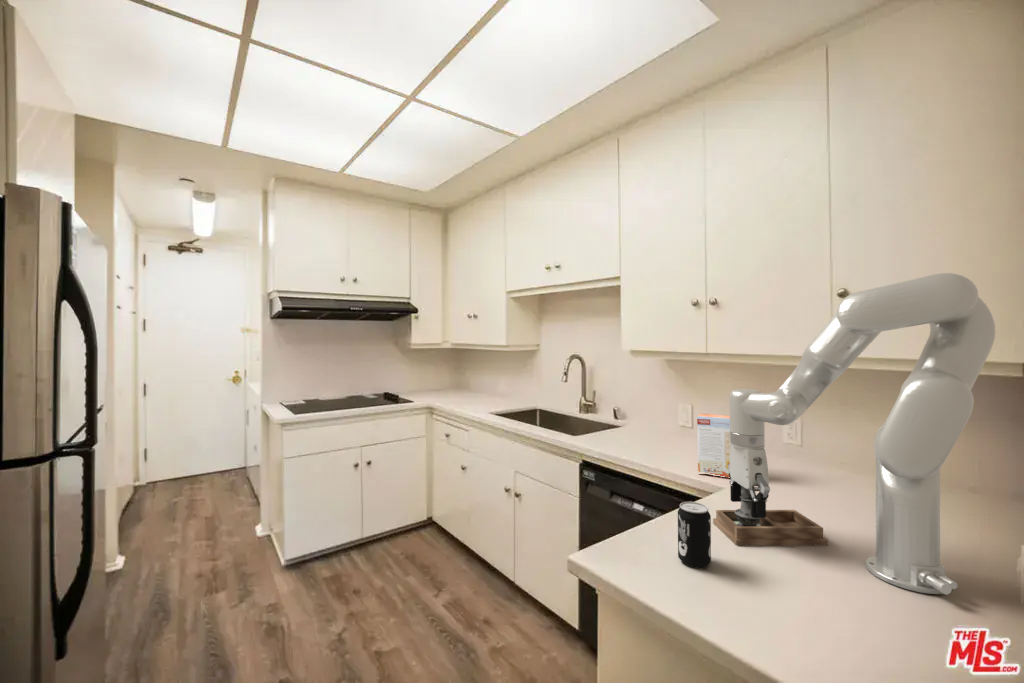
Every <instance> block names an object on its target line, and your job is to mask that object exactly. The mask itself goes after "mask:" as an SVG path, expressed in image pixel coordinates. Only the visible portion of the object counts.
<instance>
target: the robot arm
mask: <svg viewBox="0 0 1024 683" xmlns="http://www.w3.org/2000/svg"><path fill="white" fill-rule="evenodd" d="M927 324H929V327H930V330H929V335H928V338H927V340H926V343H925V344H924V346H923V348H922V352H921V353H920V356H919V357H918V359H917V362H916V363H915V365H914V367H913V369H912V370H911V372H910V374H909V375H908V377H907V378H906V379H905V380H904V382H903V383H902V385H901V387H900V391H899V394H898V397H897V398H896V400H895V402H894V404H893V406H892V409H891V410H890V412H889V413H888V414H889V415H888V416H887V418H886V420H885V422H884V423H883V424H882V425H880V427H879V428H878V429H877V431H876V433H875V436H874V442H873V443H874V444H873V450H874V455H875V555H871V556H869V557H868V558H866V561H865V564H866V568H867V570H868V571H869V572H870V573H871V574H873V575H874V576H876V577H877V578H879V579H880V580H882V581H884V582H886V583H888V584H891V585H894V586H896V587H899V588H901V589H905V590H908V591H912V592H916V593H920V594H928V595H947V596H948V595H950V594H951V593H952V590H956V589H957V588H958V582H956V581H954V580H953V579H950V578H949V577H948V576H947V575H946V566H944V565H942V564H941V467H942V466H943V465H944V463H945V462H946V460H947V458H948V457H949V455H950V454H951V451H952V450H953V449H954V447H955V445H956V443H957V441H958V440H959V437H960V436H961V434H962V432H963V430H964V428H965V427H966V425H967V424H968V421H969V419H970V417H971V415H972V412H973V409H974V406H975V404H974V403H975V399H974V395H973V392H972V389H973V387H974V385H975V382H976V381H977V379H978V377H979V375H980V373H981V371H982V370H983V367H984V365H985V363H986V361H987V358H989V355H990V353H991V351H992V348H993V345H994V341H995V338H996V324H995V320H994V316H993V314H992V312H991V310H990V308H989V307H988V306H987V304H986V303H985V302H984V301H983V299H982V298H981V297H980V296H979V290H978V288H977V286H976V284H975V283H974V282H973V281H972V280H971V279H970V278H967V276H964V275H961V274H957V273H953V272H952V273H951V272H950V273H949V272H943V273H935V274H930V275H927V276H921V277H917V278H913V279H908V280H904V281H901V282H896V283H892V284H888V285H884V286H879V287H874V288H869V289H865V290H864V289H863V290H859V291H857V292H852V293H850V294H848V295H847V296H845V297H844V298H843V299H842V300H841V301H840V302H839V304H838V306H837V309H836V312H835V314H834V315H833V316H832V317H831V318H830V320H829V321H828V322H827V323H826V325H825V326H824V327H823V328H822V329H821V330H820V331H819V332H818V334H817V335H816V336H815V337H814V338H813V339H812V340H811V342H809V344H808V345H807V346H806V348H805V349H804V350H803V352H802V355H801V358H800V361H799V363H798V364H797V366H796V368H794V370H793V371H792V373H791V374H790V375H789V376H788V377H787V378H786V380H785V381H784V382H783V383H782V385H780V387H779V388H778V389H777V390H776V391H773V392H762V391H761V390H758V389H751V388H737V389H733V390H730V393H729V416H730V445H731V449H730V464H729V465H728V470H729V477H730V479H729V485H730V501H731V502H734V503H738V502H739V503H741V499H740V496H741V486H743V487H744V488H746V489H748V490H750V493H751V496H752V499H753V500H751V517H753V518H765V517H766V510H767V502H768V498H769V496H770V495H769V493H770V492H771V487H770V482H769V479H770V478H769V467H768V466H769V465H768V457H767V452H766V449H765V447H766V446H765V445H766V444H765V441H766V440H765V438H766V437H765V423H768V424H773V425H777V426H786V425H791V424H793V423H794V422H796V420H798V419H799V418H800V417H802V415H804V413H805V412H806V411H807V410H808V409H809V408H810V407H811V406H812V405H813V403H815V401H816V400H818V398H819V397H820V396H821V395H822V394H823V393H824V392H825V391H826V389H827V388H828V387H829V386H830V385H831V384H832V383H834V382H835V381H836V380H838V378H840V376H842V375H843V373H845V371H846V370H848V368H849V367H850V366H851V365H852V364H853V363H854V362H855V361H856V360H857V358H858V357H859V356H860V355H861V354H862V353H863V352H864V351H865V349H867V347H869V345H870V344H871V343H872V342H873V341H874V340H875V339H876V338H877V337H878V336H879V335H880V334H881V332H884V331H885V332H886V331H891V330H898V329H903V328H910V327H914V326H915V327H917V326H920V325H927ZM752 486H754V487H752ZM756 492H758V493H757V494H756Z"/></svg>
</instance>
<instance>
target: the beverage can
mask: <svg viewBox="0 0 1024 683" xmlns="http://www.w3.org/2000/svg"><path fill="white" fill-rule="evenodd" d="M711 517H712V516H711V514H710V512H709V507H708V506H707V505H706V504H703V503H700V502H696V501H682V502H681V503H680V504H679V508H678V510H677V556H678V559H679V560H680V561H681V563H682V564H684V565H685V566H688V567H691V568H694V569H705V568H707V567H708V566H709V565H710V564H711V563H712V534H711V533H712V532H711V531H712V530H711V529H712V526H711V524H712V518H711Z"/></svg>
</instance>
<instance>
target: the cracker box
mask: <svg viewBox="0 0 1024 683" xmlns="http://www.w3.org/2000/svg"><path fill="white" fill-rule="evenodd" d="M696 421H697V422H696V426H697V427H696V430H697V434H696V435H697V436H696V437H697V439H696V440H697V445H696V446H697V472H698V471H699V472H705V473H710V474H715V475H720V476H725V477H729V470H728V465H729V464H730V449H731V445H730V415H724V414H710V413H699V414H698V415H697V417H696Z"/></svg>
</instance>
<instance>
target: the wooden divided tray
mask: <svg viewBox="0 0 1024 683" xmlns="http://www.w3.org/2000/svg"><path fill="white" fill-rule="evenodd" d="M735 510H736V509H716V510H715V513H716V515H715V516H716V517H715V518H712V523H713V525H714V526H716V527H717V528H718V530H720V532H722V534H724V536H726V537H727V538H728V539H729V540H730V541H731V542H732V543H733V544H734V545H735V546H736V545H762V546H829V543H828V541H829V540H828V539H827V538H826V537H824V527H823V526H821V525H819V524H818V523H816V522H815V521H813V520H811V519H810V518H808V517H806V515H803V514H802V513H801V512H799V511H797V510H795V509H766V517H765V518H760V522H759V524H757V525H756V526H738V525H737V524H738V523H740V522H739V521H738V519H737V517H736V514H735Z"/></svg>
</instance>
